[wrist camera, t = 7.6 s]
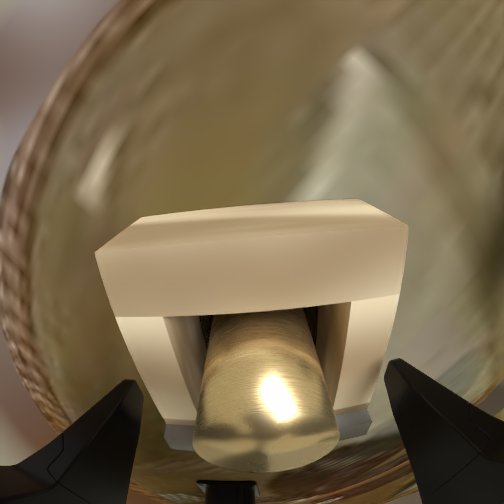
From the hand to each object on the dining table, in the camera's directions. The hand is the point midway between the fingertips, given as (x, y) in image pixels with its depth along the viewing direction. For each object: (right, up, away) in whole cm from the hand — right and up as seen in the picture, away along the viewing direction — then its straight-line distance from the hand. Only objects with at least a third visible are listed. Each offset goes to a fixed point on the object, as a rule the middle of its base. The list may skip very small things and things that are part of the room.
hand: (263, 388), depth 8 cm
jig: (0, +2, +4) cm, 4 cm away
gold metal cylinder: (0, +2, +4) cm, 5 cm away
